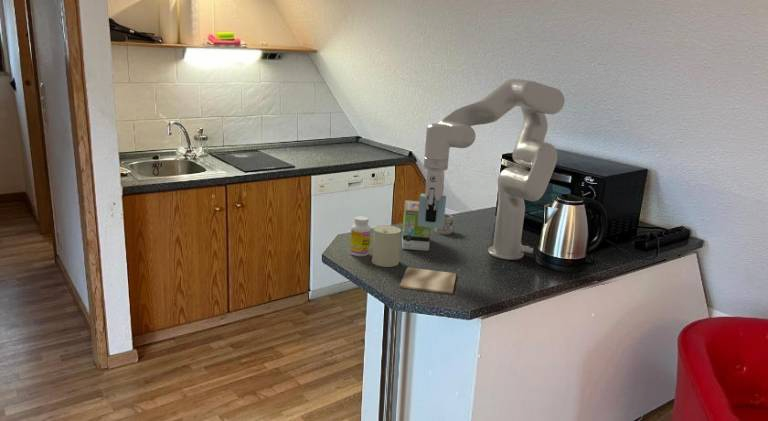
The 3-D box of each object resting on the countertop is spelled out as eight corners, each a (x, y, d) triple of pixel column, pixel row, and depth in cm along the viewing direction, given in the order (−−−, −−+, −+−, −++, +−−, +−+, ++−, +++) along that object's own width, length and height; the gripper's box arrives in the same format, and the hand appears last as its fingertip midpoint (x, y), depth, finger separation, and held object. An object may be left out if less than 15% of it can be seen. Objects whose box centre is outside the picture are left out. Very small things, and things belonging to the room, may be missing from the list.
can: (367, 263, 197) (369, 229, 194) (377, 255, 206) (379, 222, 203) (393, 268, 194) (396, 233, 191) (402, 260, 203) (405, 226, 200)
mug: (453, 234, 235) (455, 218, 233) (437, 234, 233) (438, 218, 231) (445, 227, 244) (447, 211, 242) (430, 227, 243) (431, 211, 241)
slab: (443, 225, 193) (446, 196, 191) (442, 229, 190) (445, 198, 187) (419, 223, 195) (421, 193, 192) (417, 226, 191) (419, 196, 189)
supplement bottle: (362, 258, 202) (364, 222, 199) (346, 253, 205) (347, 218, 202) (372, 253, 208) (375, 218, 204) (357, 249, 211) (359, 214, 207)
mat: (456, 275, 192) (456, 273, 192) (452, 294, 177) (452, 292, 177) (407, 269, 195) (407, 267, 195) (399, 287, 180) (399, 285, 180)
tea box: (429, 251, 214) (433, 211, 210) (401, 249, 214) (404, 209, 210) (427, 238, 228) (430, 200, 224) (401, 236, 228) (404, 199, 224)
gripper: (445, 169, 178) (440, 228, 183) (450, 160, 194) (445, 214, 199) (420, 167, 179) (415, 225, 184) (427, 158, 195) (423, 211, 200)
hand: (431, 219), depth 192 cm, fingers closed on slab, 3 cm apart
